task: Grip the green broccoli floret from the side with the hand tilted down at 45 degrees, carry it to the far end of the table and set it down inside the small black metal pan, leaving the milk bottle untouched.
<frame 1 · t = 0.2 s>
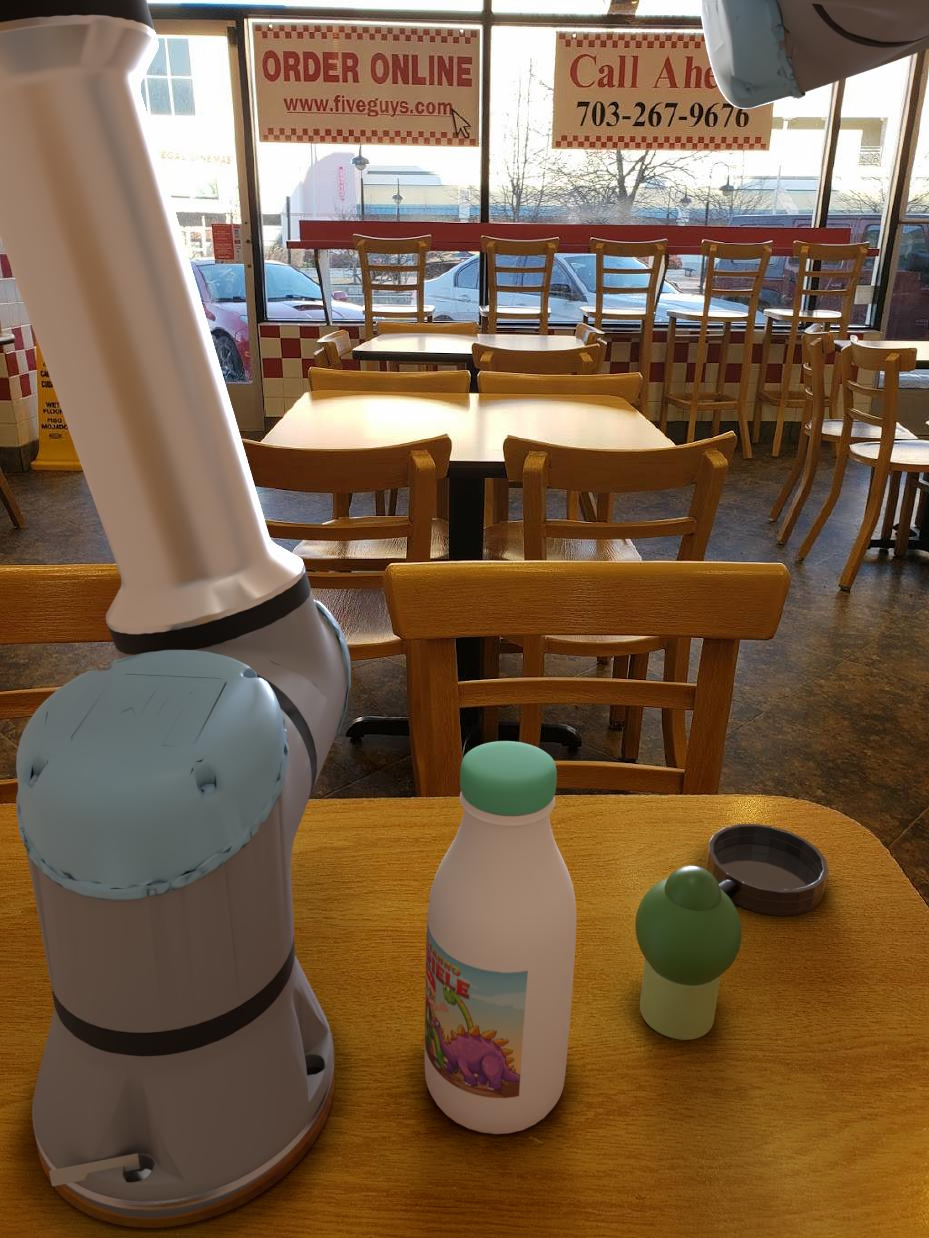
pan: (763, 878, 69), on the table
pan handle: (697, 924, 64), on the table
broccoli: (676, 1011, 57), on the table
milk bottle: (494, 1081, 52), on the table
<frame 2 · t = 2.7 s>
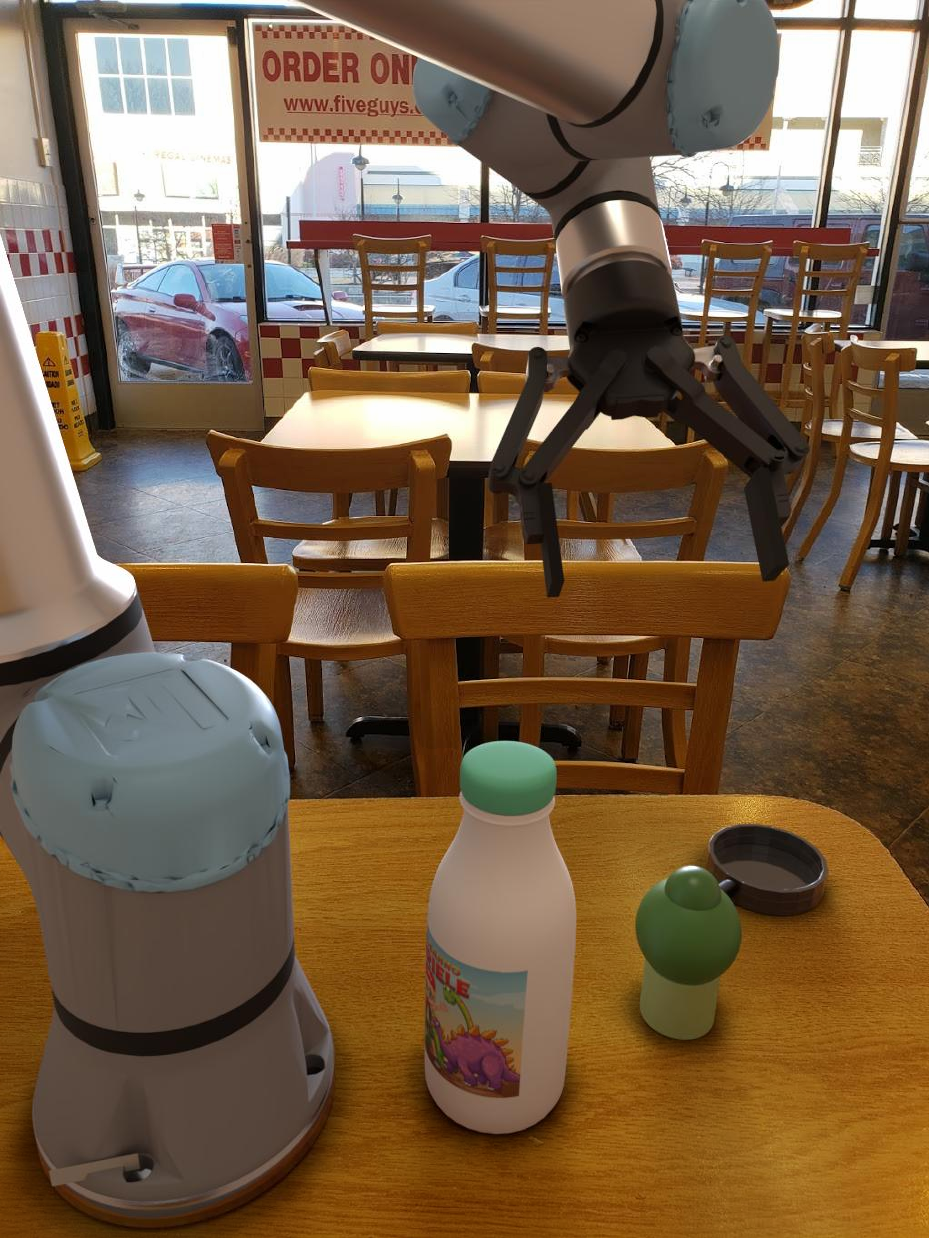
hand: (666, 582, 57), 24 cm above the table, tool tilted 40°, fingers open, 13 cm apart
nothing on the table moved.
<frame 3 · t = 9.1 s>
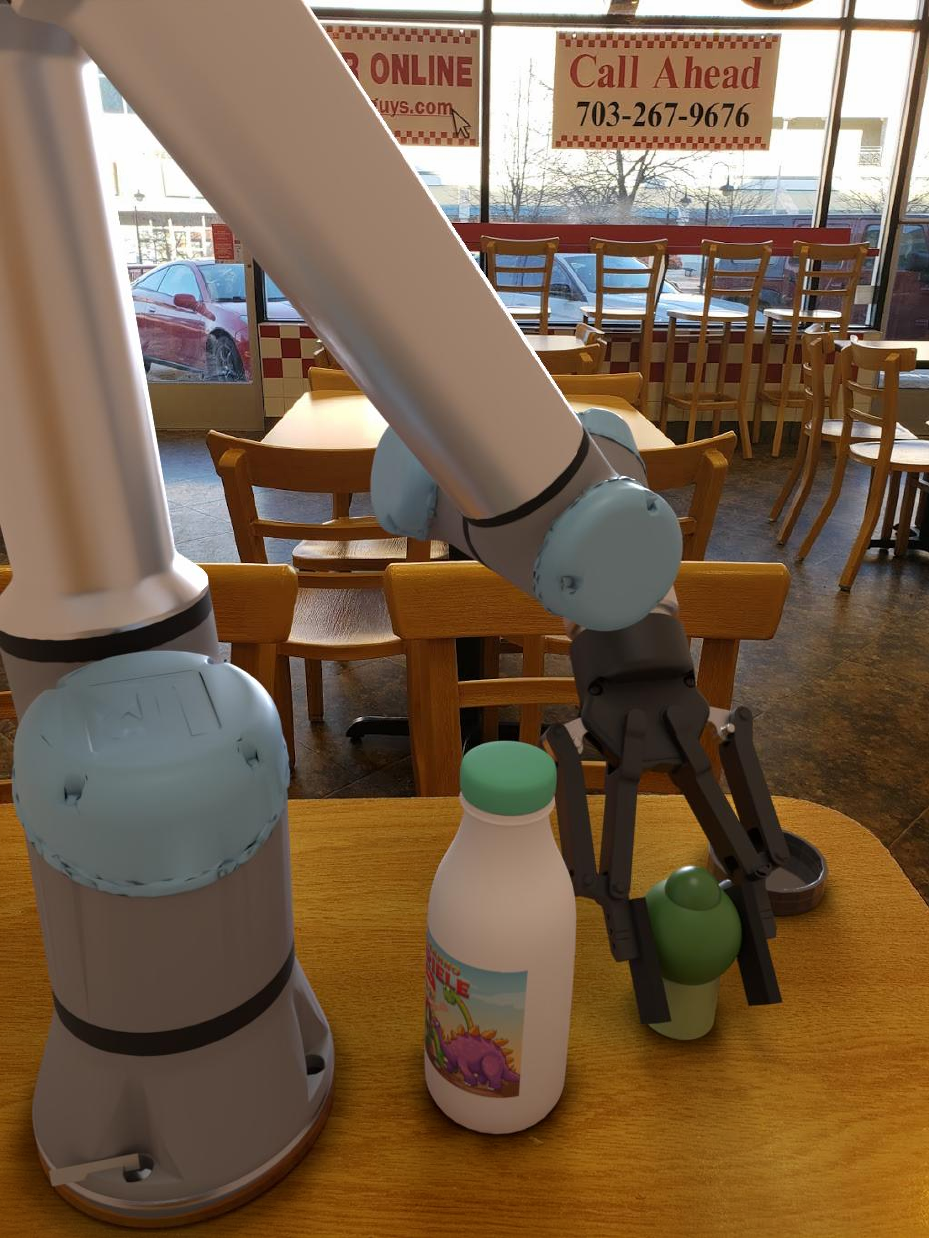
hand: (711, 1012, 52), 3 cm above the table, tool tilted 45°, fingers closed on broccoli, 6 cm apart
broccoli: (676, 1012, 57), on the table, touching gripper
everything else where it was.
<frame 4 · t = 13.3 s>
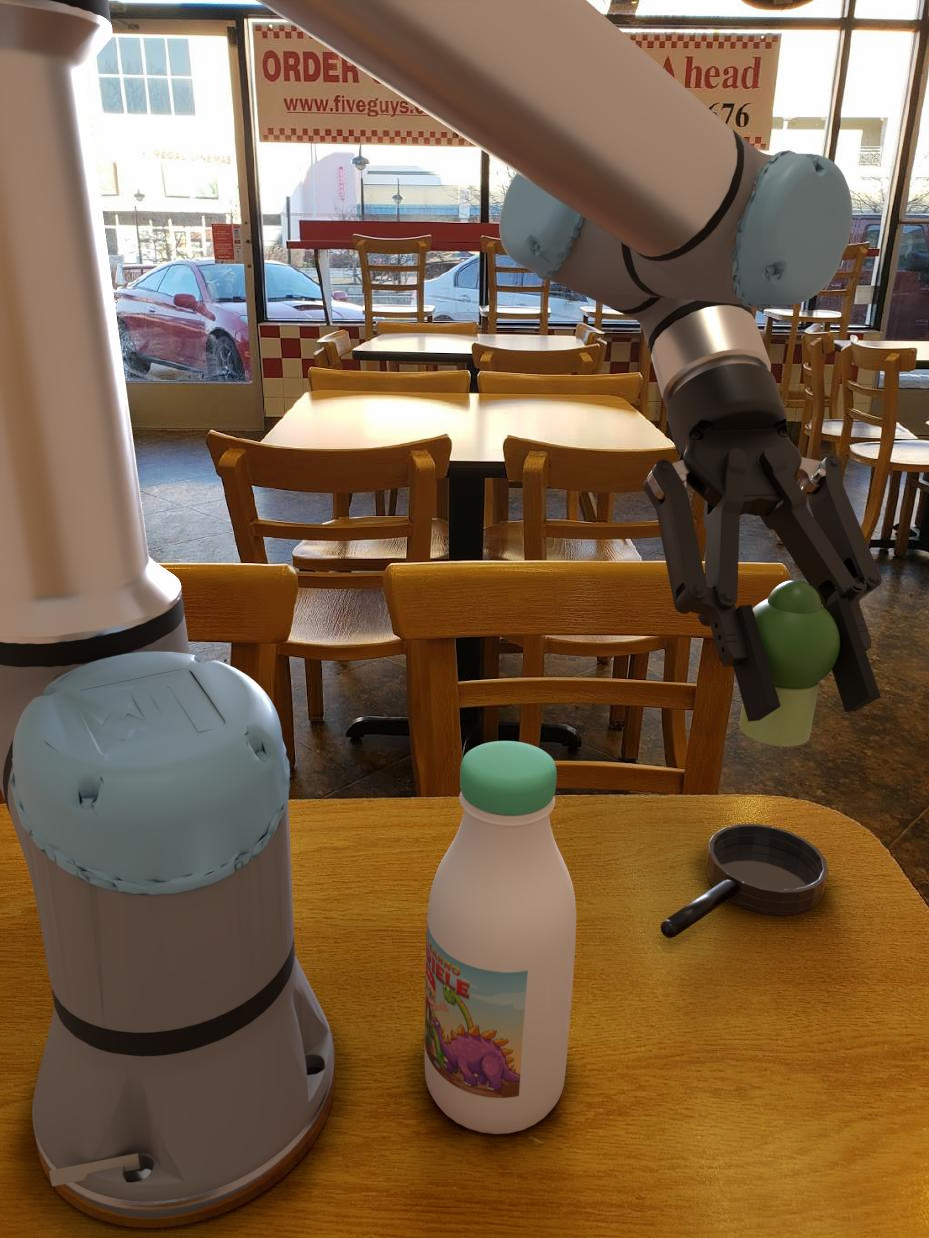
hand: (813, 708, 56), 17 cm above the table, tool tilted 45°, fingers closed on broccoli, 6 cm apart
broccoli: (774, 730, 61), point 14 cm above the table, touching gripper
everything else where it was.
when the fingers open (4 cm above the table, at t = 17.7 s): broccoli stays where it is, resting on pan.
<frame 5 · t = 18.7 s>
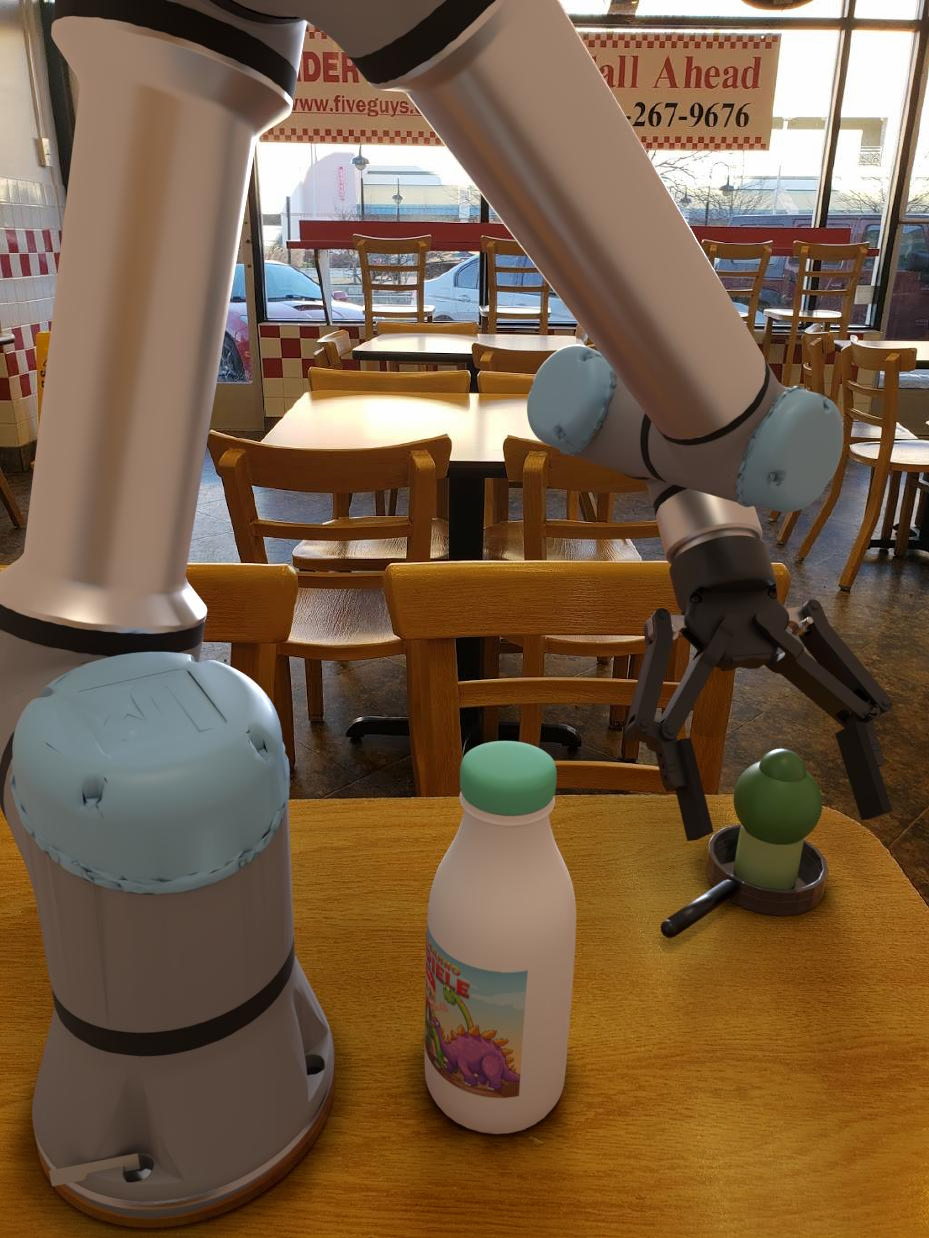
hand: (790, 826, 65), 6 cm above the table, tool tilted 45°, fingers open, 13 cm apart
broccoli: (764, 873, 69), resting on pan
everything else where it was.
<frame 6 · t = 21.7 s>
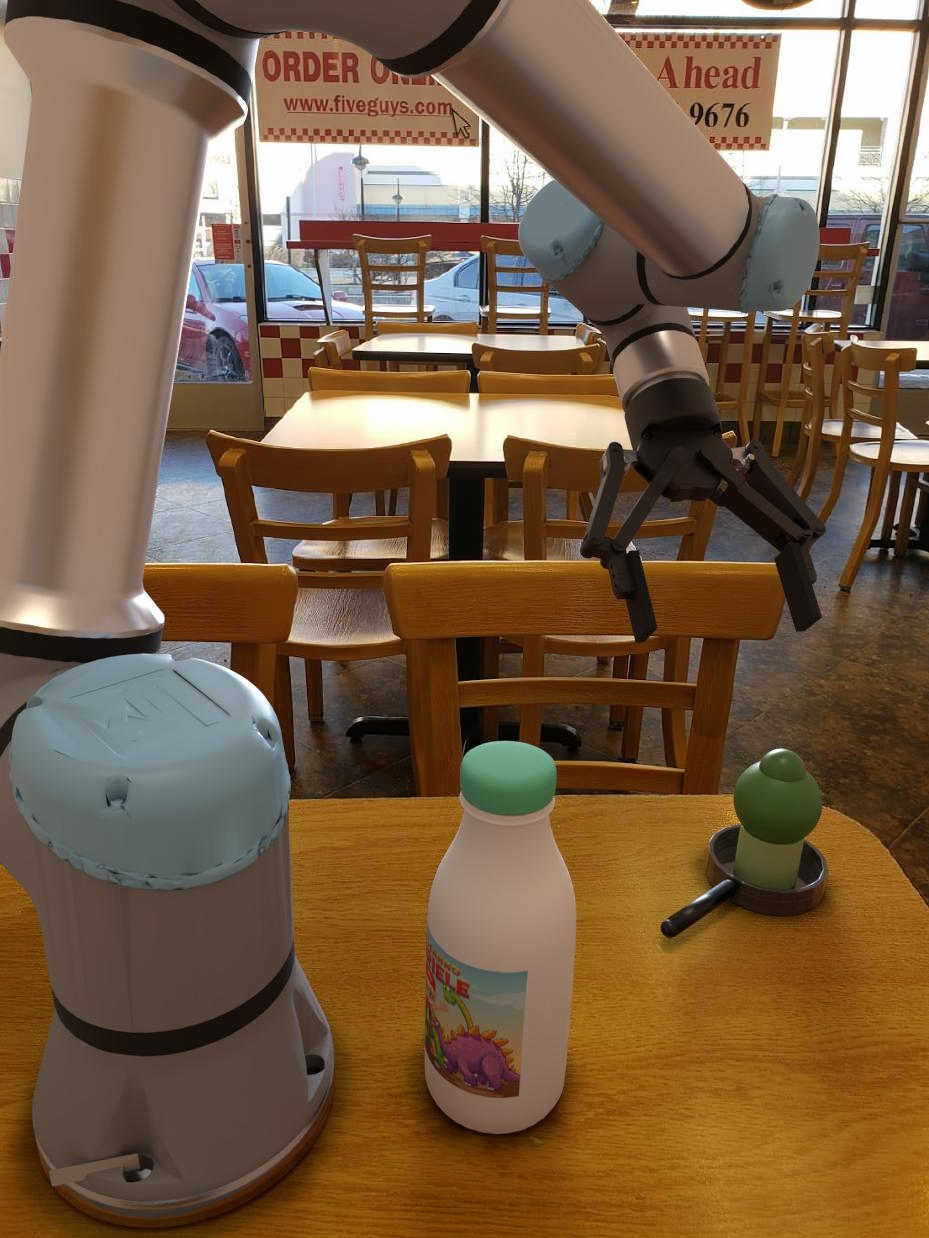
hand: (729, 630, 72), 16 cm above the table, tool tilted 45°, fingers open, 13 cm apart
nothing on the table moved.
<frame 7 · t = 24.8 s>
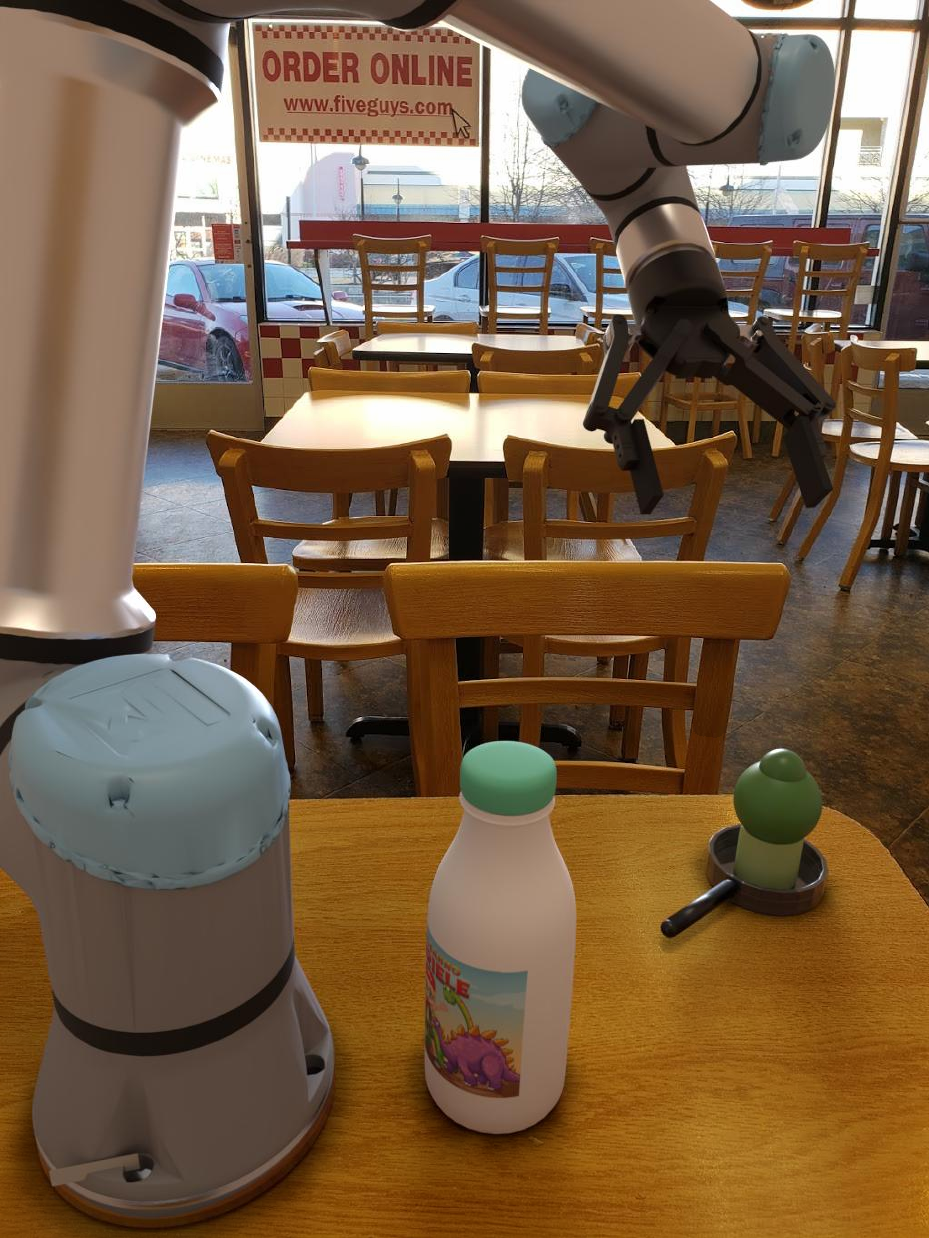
hand: (737, 502, 69), 26 cm above the table, tool tilted 45°, fingers open, 13 cm apart
nothing on the table moved.
at the end: broccoli 0.1 cm off-centre in the pan, point 0.4 cm above the pan's base; the gripper is holding nothing; milk bottle moved 0.2 cm from its start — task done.
